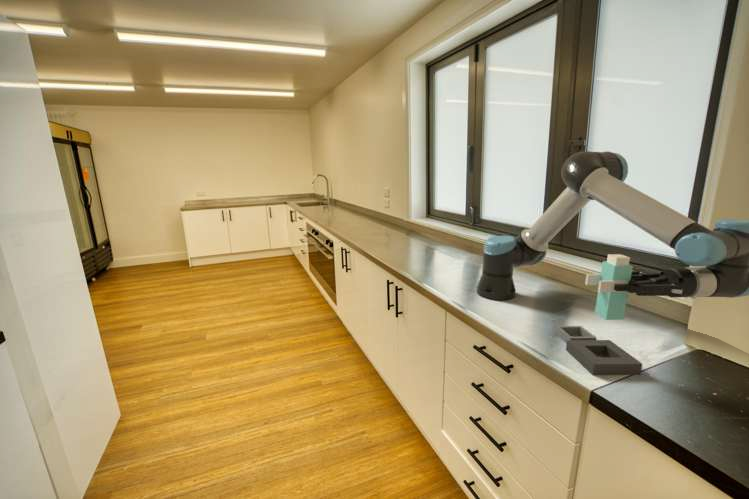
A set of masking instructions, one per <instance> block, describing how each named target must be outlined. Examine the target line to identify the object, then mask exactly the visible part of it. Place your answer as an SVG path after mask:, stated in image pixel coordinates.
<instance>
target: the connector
mask: <svg viewBox="0 0 749 499" xmlns="http://www.w3.org/2000/svg"><path fill="white" fill-rule="evenodd" d="M630 259H631V257H629V256H627V255H624V254H621V253H615V254H613V253H612V254H611V253H610V254H609V253H608V254H607V259H606V261H605V260H603V261H602V265H601V270H600V271H601V272H600V274H601V277H600V281H618V280H626V281H628V284H629V282H630V279H631V274H632V271H633V268H634V266H633V265H631V264H630V261H631V260H630ZM628 295H629V292H628V291H626V292H599V291H598V290H597V296H596V303H595V309H594V314H596V315H598V316H599V317H600V318H602V319H604V320H605V321H612V320H613V321H614V320H615V321H619V320H620V321H623V320H624V318H625V313H626V308H627V307H626V306H627V302H628Z"/></svg>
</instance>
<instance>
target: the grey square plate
mask: <svg viewBox="0 0 749 499" xmlns="http://www.w3.org/2000/svg"><path fill="white" fill-rule="evenodd" d="M555 335H556V336H558V337H559V338H560V339H561V340H562V341H563V342H564V343H565V344H566V345H567V340H597V337H596V336H595V335H593V334H592V333H591V332H590V331H588V330H587V329H585V328H584V327H583V326H582V325H564V326H562V325H558V326H557V325H556V327H555ZM572 335H573V336H572ZM574 335H576V336H574ZM577 335H578V336H577Z"/></svg>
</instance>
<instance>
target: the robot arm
mask: <svg viewBox="0 0 749 499" xmlns="http://www.w3.org/2000/svg"><path fill="white" fill-rule="evenodd" d="M560 172H561V174H560V175H561V176H560V177H561V179H562V181H563V183H564V185H566V188H565V189H564V190H563V191H562V192H561V193H560V194H559V196H557V197H556V199H554V201H553V202H552V203H551V205H549V207H548V208H547V209H546V210H545V211H544V212H543V214H542V215H541V216H539V218H538V219H537V220H536V221H535V222H534V223H533V225H532V226H531V227H530V228H525V229H523V230H522V231H521V232H520V233H519V234H518V235H517V237H514V236H510V235H495V236H490V237H488V238H487V239H486V240H485V241H484V246H483V254H482V255H483V257H482V272H481V275H480V279H479V280H478V284H477V285H476V294H477V295H479V296H480V297H481V298H482V297H483V298H485V299H489V300H494V301H508V300H512V299H514V298H515V297H516V294H517V293H516V291H517V290H516V285H515V282H514V279H513V276H514V275H513V274H514V268H518V267H525V266H533V265H536V264H538V263H541V262H542V261H543V260H544V259H545V257H546V256H547V250H548V249H549V242H551V240H552V239H554V237H555V236H556V235H557V234H558V233H559V232H560V231H561V230H562V229H563V228H564V227H565V226H566V225H567V224H568V223H570V221H571V220H572V219H573V218H574V217H576V215H577V214H578V213H580V211H581V210H582V209H583V208H584V207H585V206H587V204H588V203H589V202H590V201H596V202H597V203H598V204H601V205H602V206H604V207H605V208H607V209H608V210H610V211H612V212H613V213H615V214H616V215H618V216H620V217H621V218H623V219H624V220H626V221H628V222H630V223H631V224H633V225H634V226H635V227H637V228H639V229H641V230H642V231H643V232H645V233H647V234H649V235H650V236H652V237H654V238H655V239H656V240H658V241H660V242H662V243H663V244H664V245H666V246H668V247H670V248H672V250H674V252H675V255H676V257H677V259H678V260H679V261H681V263H683V264H685V265H688V266H685V267H681V266H680V267H679V266H678V267H677V266H675V267H667V268H664V269H663V270H662V271H661V272H660V273H659V272H651V273H650V272H649V273H647V272H644V270H641V269H638V270H632V274H631V279H630V282H629V284H628V281H626V280H618V281H600V277H601V273H600V274H599V273H598V274H597V273H595V274H593V273H590V274H589V273H588V274H586V275H585V276H586V277H585V282H584V284H585V286H598V288H597V292H598V291H599V292H626V291H628V294H635V295H636V296H638V297H639V296H641V297H651V296H653V297H656V296H657V297H658V296H659V297H660V296H662V297H663V296H666V297H670V298H690V299H693V300H695V299H696V298H732V299H733V298H742V297H747V296H749V220H744V219H736V218H735V219H734V218H733V219H732V218H722V219H719V220H717V221H716V222H715V224H714V227H713V228H712V230H711V229H709V228H708V227H706V226H704V225H702V224H700V223H698V222H697V221H695V220H693V219H692V218H690V217H689V216H688V217H687V215H684V214H682V213H680V212H679V211H676V210H675V209H673V208H671V207H669V206H667V205H666V204H664V203H662V202H660V201H658V200H657V199H655V198H653V197H651V196H649V195H647V194H646V193H644V192H642V191H640V190H638V189H636V188H634V187H633V186H631V185H629V184H627V183H626V182H625V181H626V179H627V177H628V174H629V165H628V162H627V160H626V158H625V157H623V155H621V154H619V153H617V152H612V151H607V150H606V151H579V152H576V153H574V154H573V155H571V156H570V157H568V158H567V159H566V160H565V161H564V162H563V165H562V167H561V171H560Z"/></svg>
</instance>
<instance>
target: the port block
mask: <svg viewBox="0 0 749 499" xmlns="http://www.w3.org/2000/svg"><path fill="white" fill-rule="evenodd" d="M565 351H566V352H567V353H569V354H570V355H571V356H572V357H573V358H574V359H575V361H577V362H578V364H579V363H580V365H581V366H582V367H583V368H585V370H587V371H588V373H590V374H591V375H592V376H616V375H617V376H622V375H623V376H627V375H628V376H629V375H630V376H631V375H632V376H633V375H634V376H636V375H637V376H638V375H639V376H641V373H642V370H643V363H642V362H641V361H639V360H638V359H637V358H635V357H634V356H632V355H631V354H630V353H628V352H627V351H626V350H624V349H622V348H621V347H620V346H618V345H617V344H616V343H614V342H613V341H612V340H610V339H596V340H567V344H566V345H565ZM598 356H605V357H598Z"/></svg>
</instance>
